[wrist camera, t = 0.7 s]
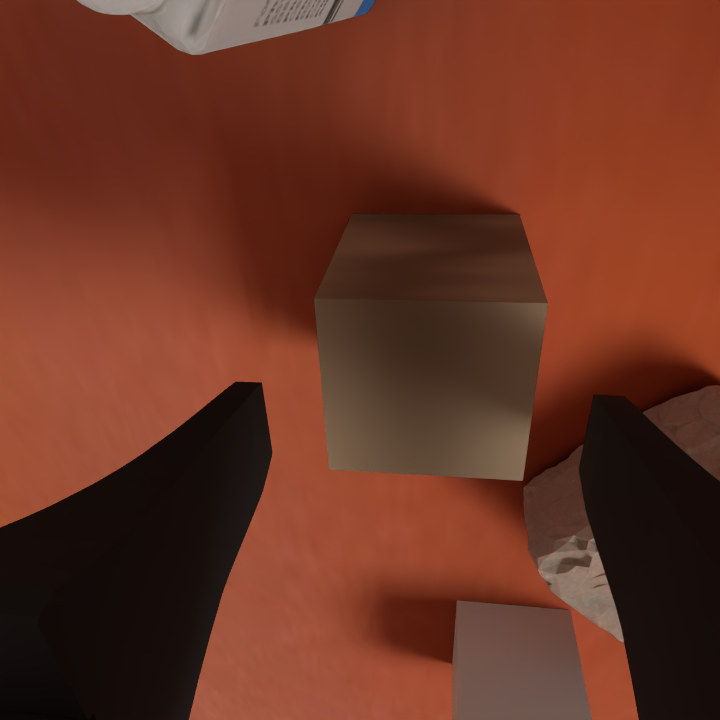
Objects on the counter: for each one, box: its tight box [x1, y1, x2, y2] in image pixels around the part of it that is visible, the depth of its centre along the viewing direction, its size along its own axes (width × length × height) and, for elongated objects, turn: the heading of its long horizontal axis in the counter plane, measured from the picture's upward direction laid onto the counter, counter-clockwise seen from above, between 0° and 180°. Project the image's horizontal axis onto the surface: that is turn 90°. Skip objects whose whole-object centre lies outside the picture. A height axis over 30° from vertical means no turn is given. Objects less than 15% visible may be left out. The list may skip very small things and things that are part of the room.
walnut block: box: [314, 214, 548, 481], centre depth 16 cm, size 5×5×6 cm
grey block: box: [452, 600, 592, 720], centre depth 25 cm, size 5×5×6 cm
